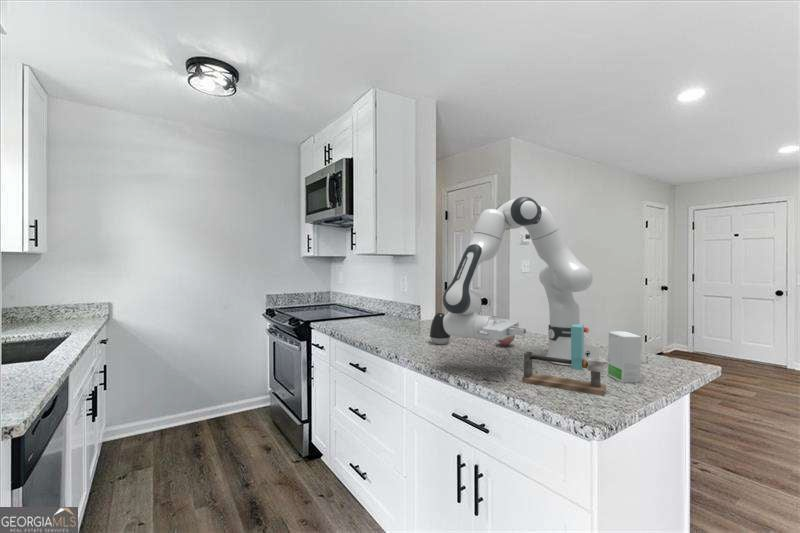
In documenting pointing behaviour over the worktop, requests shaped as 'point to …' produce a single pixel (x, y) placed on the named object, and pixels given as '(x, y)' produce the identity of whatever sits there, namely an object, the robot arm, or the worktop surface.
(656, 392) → the worktop surface
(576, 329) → the teal rectangular block
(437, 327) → the pump dispenser
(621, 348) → the skincare box
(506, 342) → the decorative fruit
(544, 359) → the wooden rod holder
